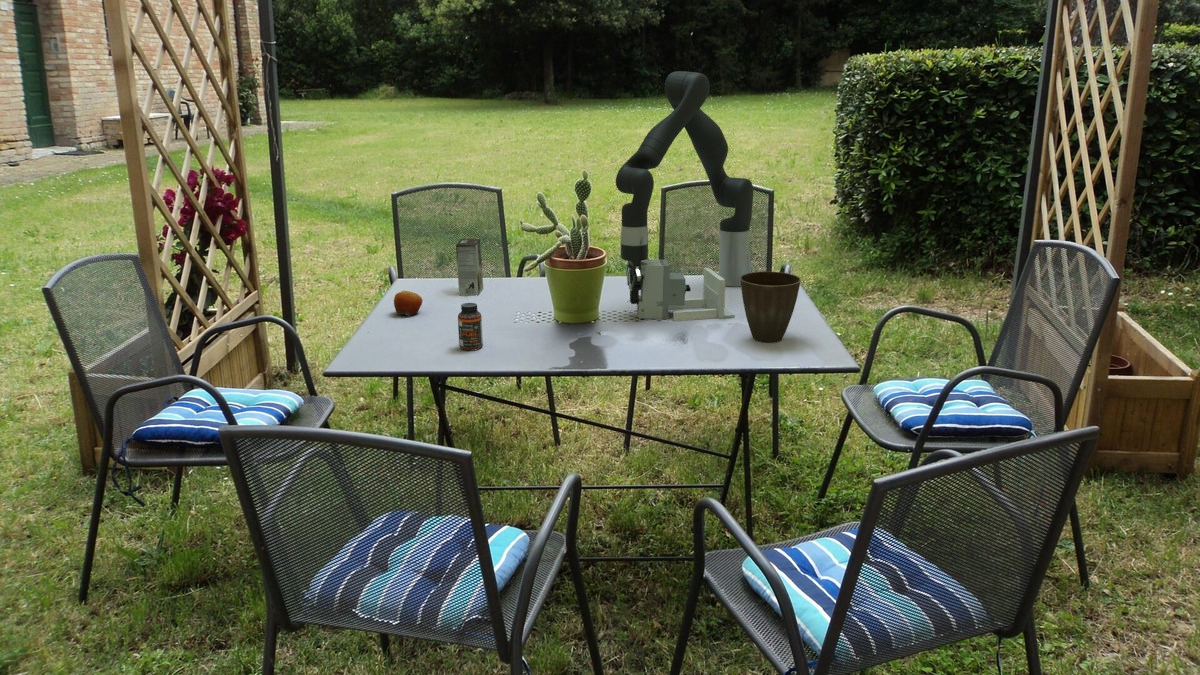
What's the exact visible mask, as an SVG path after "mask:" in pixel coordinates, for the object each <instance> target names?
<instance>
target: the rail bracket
mask: <svg viewBox="0 0 1200 675" xmlns="http://www.w3.org/2000/svg"><path fill="white" fill-rule="evenodd" d="M702 285H703V288H702V291H703V292H702V294H703V295H702V296H703V297H700V298H699V297H698V298H685V305H682V306H669V310H675V311H673V312H672V314H673V315H672V317H673V319H672V320H673V322H679V321H680V322H681V321H693V320H694V321H695V319H696V320H706V319H709V320H710V319H719V320H722V319H723V320H724V319H735V314H734V313H733V312H732V311H730V310H729V309H728V308H727V307H726V306H725V304H726V302H725V298H726V286H725V279H723V278H722V277H721V276H719V273H717V272H715V270H713V269H711V268H710V267H703V284H702ZM697 307H698V308H705V309H698V308H697ZM682 308H684V309H687V310H682ZM696 308H697V309H696ZM688 309H689V310H688ZM669 310H668V311H669ZM676 310H678V311H676Z"/></svg>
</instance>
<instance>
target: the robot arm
mask: <svg viewBox="0 0 1200 675" xmlns="http://www.w3.org/2000/svg"><path fill="white" fill-rule="evenodd" d="M664 91H665V95H666V99H667V101H668V103H669V104H670V107H671V108H672V109H673V111H672V112H670V113H669V114H668V115H667V116H666V117H664V118H663V119H662V120H661V121H659V122H658V123H657V124H655V125H654V126H653V127H652V128H651V129H650V130H649V131H648V132H647V133H646V135H645V137H644V139H643V141H642V142H641V144H640V146H639V148H638V149H637V151H635V153H633V154H632V155H631V156H630V157H629V159H627V160H626V162H625V163H623V164H622V166H621V167H620V168H619V170H618V172H617V174H616V178H615V187H616V189H617V190H618V191H619V192H621V193H622V194H626V195H632V199H631V200H632V201H631V202H627V203H625V204H623V205H622V208H621V228H620V259H621V260H623V261H627V264H626V265H625V268H624V269H625V275H626V281H627V282H626V284H627V286H628V289H629V303H630V304H631V305H635V304H636V305H637V304H638V303H639V294H640V291H641V287H642V283H643V278H644V276H643V275H640V273H641V261H642V260H648V258H649V229H648V210H649V207H650V203H651V199H652V195H653V192H654V186H655V180H654V176H653V174H652V172H651V171H649V170H652V169H656V168H658V166H659V165H660V164H661V163H662V161H663V159H664V157H665V156H666V154H667V152H668V151H669V149H670V147H671V146H672V144H673V142H674V141H675V140H676V138H677V137H678V136H679V134H680V133H681V132H682V130H683V129H685V132H686V133H687V135H688V137H689V139H690V141H691V144H692V146H693V149H694V150H695V152H696V154H697V156H698V158H699V160H700V163H701V165H702V166H703V169H704V171H705V174H706V176H707V178H708V181H709V184H710V188H711V190H712V194H713V196H714V199H715V201H716V202H717V204H718V205H719V206H721V207H724V208H730V209H731V208H732V209H734V214H733V215H732V216H730V217H726V218H723V219H721V220H720V221H719V246H718V247H719V250H718V252H719V253H718V254H719V255H718V275H719V276H721V277H722V278H723V279H725V287H741V279H740V277H741V276H742V275H744V274H747V273H752V271H751V270H752V269H751V268H752V267H751V266H752V265H751V264H752V255H751V253H750V233H751V232H750V230H751V222H752V215H753V203H754V185H753V183H752V181H751V179H749V178H743V177H730V176H728V174H727V173H726V171H725V168H724V165H725V163H726V160H727V157H728V154H729V146H728V142H727V139H726V137H725V135H724V133H723V131H722V129H721V127H720V126H719V124H718V123H717V122H716V121H715V120H714V119H713V118H712V117H710V116H709V115H708V114H706V113H705V112H704V110H702V109H701V107H702V106H703V105H704V103H705V102H706V100H707V99H708V96H709V93H710V81H709V79H708V77H707V76H706V75H705V74H703V73H701V72H695V71H694V72H693V71H686V70H685V71H684V70H683V71H682V70H678V71H673V72H671V73H669V74H668V75H667V77H666V79H665V83H664Z"/></svg>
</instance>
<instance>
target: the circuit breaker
mask: <svg viewBox="0 0 1200 675" xmlns="http://www.w3.org/2000/svg"><path fill="white" fill-rule="evenodd" d="M670 269H671V266H670V264H669V262H668V259H646V260H642V261H641V273H640V275H643V276H644V278H643V283H642V287H641V290H640V295H639V303H638V304H636V312H637V316H638V317H637V318H638V319H644V320H645V319H648V320H649V319H651V320H652V319H653V320H654V319H655V320H656V319H657V320H661V319H669V306H682V305H685V299H686V293H687V292H691V286H690V284H687V282H686V278H685V276H684V274H683V272H671V270H670Z"/></svg>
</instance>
